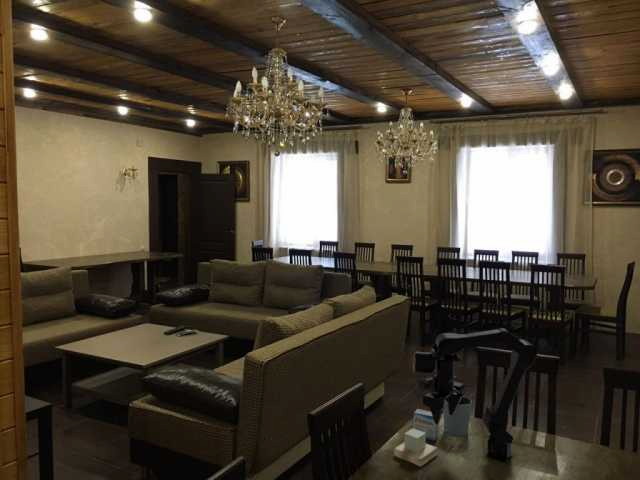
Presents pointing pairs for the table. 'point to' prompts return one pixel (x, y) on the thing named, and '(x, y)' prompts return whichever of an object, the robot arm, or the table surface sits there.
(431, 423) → the medicine box
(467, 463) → the table surface
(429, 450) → the birch block
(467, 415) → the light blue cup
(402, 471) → the table surface
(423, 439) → the green cube
